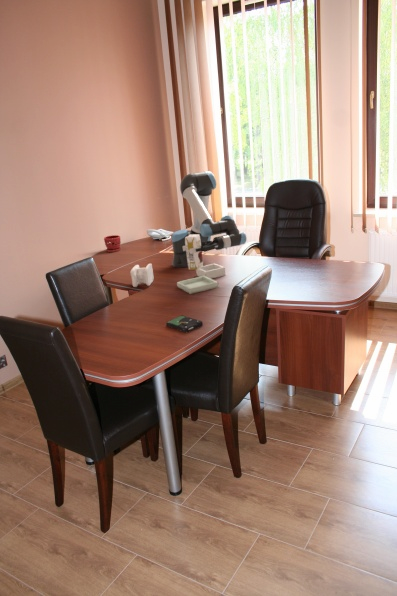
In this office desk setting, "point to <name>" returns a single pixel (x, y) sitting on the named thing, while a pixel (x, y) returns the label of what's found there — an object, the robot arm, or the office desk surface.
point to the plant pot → (112, 243)
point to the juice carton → (195, 258)
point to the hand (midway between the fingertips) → (186, 249)
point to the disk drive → (184, 323)
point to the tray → (197, 284)
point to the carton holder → (211, 271)
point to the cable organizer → (142, 275)
